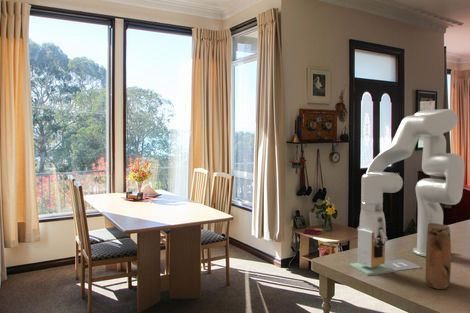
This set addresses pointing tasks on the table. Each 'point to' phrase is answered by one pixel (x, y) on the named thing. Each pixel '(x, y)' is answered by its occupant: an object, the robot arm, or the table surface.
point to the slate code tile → (400, 265)
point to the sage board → (371, 269)
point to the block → (438, 256)
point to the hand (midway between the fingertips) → (371, 253)
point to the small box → (368, 249)
